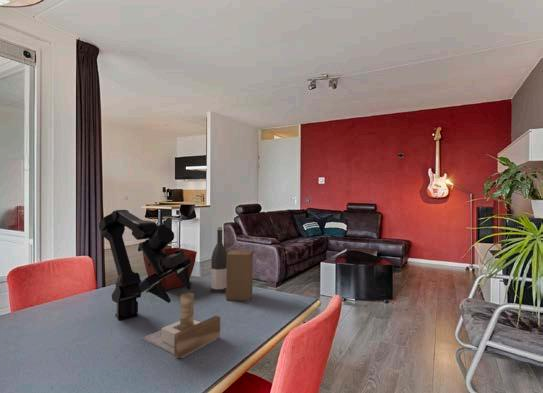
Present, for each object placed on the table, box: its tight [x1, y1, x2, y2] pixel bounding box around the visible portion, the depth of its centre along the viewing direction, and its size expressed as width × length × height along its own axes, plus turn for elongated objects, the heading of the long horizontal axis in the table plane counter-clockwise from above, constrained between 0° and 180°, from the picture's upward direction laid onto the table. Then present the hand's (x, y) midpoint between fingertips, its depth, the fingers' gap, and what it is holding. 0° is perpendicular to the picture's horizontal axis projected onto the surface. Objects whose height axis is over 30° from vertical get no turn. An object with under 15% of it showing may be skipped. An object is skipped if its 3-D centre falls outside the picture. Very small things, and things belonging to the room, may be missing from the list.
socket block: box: [161, 319, 201, 346], centre depth 94 cm, size 10×10×4 cm
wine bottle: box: [210, 226, 228, 294], centre depth 144 cm, size 8×8×30 cm
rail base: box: [142, 315, 221, 359], centre depth 95 cm, size 18×16×7 cm
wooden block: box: [225, 249, 254, 302], centre depth 135 cm, size 10×10×20 cm
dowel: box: [179, 292, 195, 331], centre depth 94 cm, size 4×4×13 cm
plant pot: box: [142, 246, 198, 291], centre depth 150 cm, size 19×19×17 cm
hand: (180, 295), depth 100 cm, fingers open, 9 cm apart
